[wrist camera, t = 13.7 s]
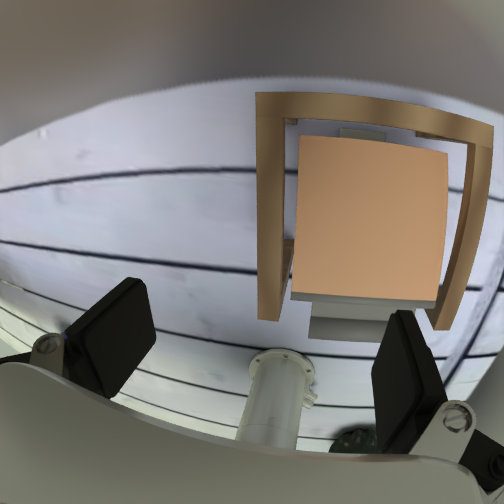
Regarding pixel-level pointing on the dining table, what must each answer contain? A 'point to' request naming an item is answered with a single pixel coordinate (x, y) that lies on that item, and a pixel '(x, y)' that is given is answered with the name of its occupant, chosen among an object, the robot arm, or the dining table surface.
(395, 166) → the trapdoor
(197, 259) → the dining table surface
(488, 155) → the frame
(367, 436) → the squash
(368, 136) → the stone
